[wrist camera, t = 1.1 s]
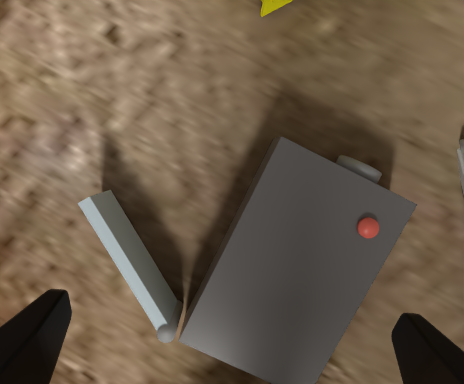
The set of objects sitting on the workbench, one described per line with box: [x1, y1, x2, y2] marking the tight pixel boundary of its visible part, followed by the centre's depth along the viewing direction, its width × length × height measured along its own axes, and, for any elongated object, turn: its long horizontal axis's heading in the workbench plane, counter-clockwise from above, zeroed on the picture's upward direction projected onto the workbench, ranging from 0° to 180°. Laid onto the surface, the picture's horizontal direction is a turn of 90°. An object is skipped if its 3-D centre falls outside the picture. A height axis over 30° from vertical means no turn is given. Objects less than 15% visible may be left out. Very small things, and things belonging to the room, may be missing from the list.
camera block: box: [179, 136, 417, 384], centre depth 22 cm, size 15×9×4 cm, turn 154°
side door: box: [78, 190, 183, 343], centre depth 22 cm, size 10×1×4 cm, turn 29°
